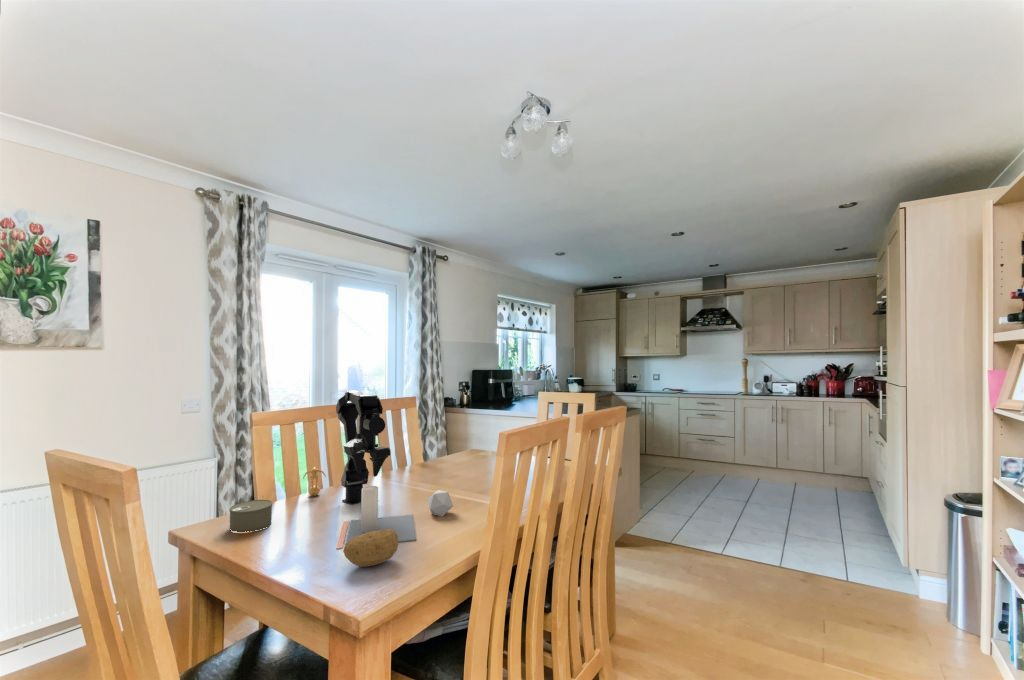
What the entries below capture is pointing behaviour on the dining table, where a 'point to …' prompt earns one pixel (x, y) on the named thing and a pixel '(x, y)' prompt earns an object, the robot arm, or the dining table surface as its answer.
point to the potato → (371, 547)
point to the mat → (388, 527)
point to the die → (440, 503)
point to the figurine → (313, 489)
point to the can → (250, 515)
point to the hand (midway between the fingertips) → (366, 474)
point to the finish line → (342, 535)
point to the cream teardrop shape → (369, 509)
